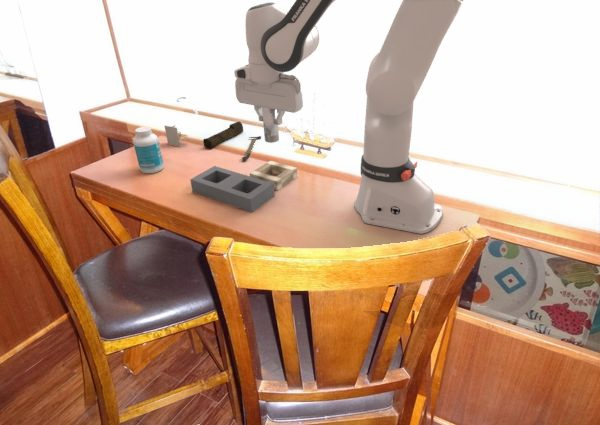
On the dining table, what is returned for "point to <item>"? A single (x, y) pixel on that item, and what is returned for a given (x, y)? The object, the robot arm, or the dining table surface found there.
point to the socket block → (282, 170)
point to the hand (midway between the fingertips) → (270, 122)
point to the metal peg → (270, 125)
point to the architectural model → (173, 135)
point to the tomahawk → (250, 147)
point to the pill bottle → (148, 150)
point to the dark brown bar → (224, 135)
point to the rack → (233, 188)
